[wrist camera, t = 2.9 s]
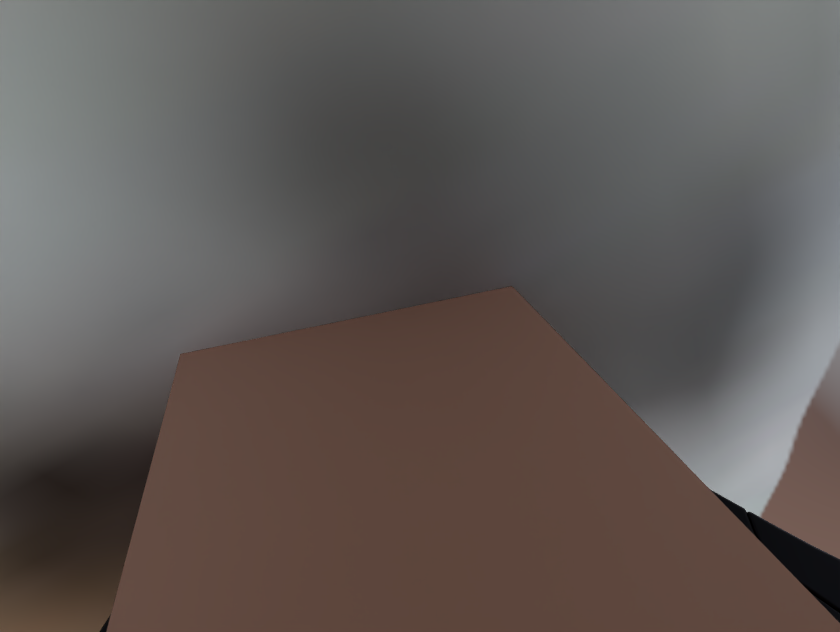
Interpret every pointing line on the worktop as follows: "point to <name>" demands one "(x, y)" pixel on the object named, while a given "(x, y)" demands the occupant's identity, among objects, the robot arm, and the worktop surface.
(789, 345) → the worktop surface
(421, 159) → the worktop surface
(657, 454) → the cabinet block
